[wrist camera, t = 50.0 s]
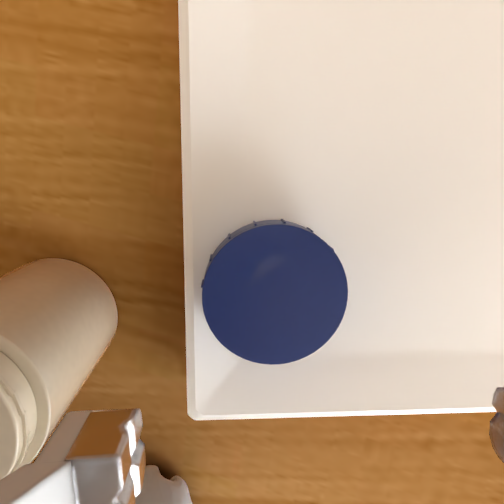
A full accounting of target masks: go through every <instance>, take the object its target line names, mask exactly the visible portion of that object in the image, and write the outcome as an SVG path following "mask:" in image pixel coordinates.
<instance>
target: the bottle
mask: <svg viewBox="0 0 504 504" xmlns="http://www.w3.org/2000/svg"><path fill="white" fill-rule="evenodd" d="M135 502H136V504H193V503H192V501H191V498H190V495H189V490H188V487H187V485H186V482H185V481H184V480H183V479H182V478H181V477H180V476H173V477H172V478H171V479H170V480H168V479H166V478H164V477H163V476H162V475H161V474H160V472H159V468H158V467H157V466H155V465H147V466H145V474H144V482H143V486H142V490H141V493H140V494H138V495H137V496H136V497H135Z"/></svg>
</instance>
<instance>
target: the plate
mask: <svg viewBox="0 0 504 504" xmlns="http://www.w3.org/2000/svg"><path fill="white" fill-rule="evenodd" d="M178 13H179V57H180V102H181V146H182V190H183V235H184V279H185V323H186V367H187V412H188V415H189V416H190V417H191V418H192V419H193V420H225V419H260V418H295V417H330V416H365V415H401V414H436V413H471V412H497V411H496V409H495V408H494V406H493V405H492V400H493V394H494V392H495V390H496V388H497V387H504V0H178ZM281 219H284V220H285V221H289V222H293V223H296V224H298V225H301V226H303V227H305V228H307V227H308V228H310V229H311V230H313V233H314V234H316V235H317V236H318V237H320V238H321V239H322V240H324V241H325V242H326V243H327V244H328V245H329V246H330V247H332V248H333V249H334V252H335V253H336V255H337V256H338V258H339V260H340V261H341V263H342V266H343V268H344V271H345V274H346V278H347V285H348V300H347V306H346V310H345V313H344V316H343V319H342V321H341V323H340V325H339V327H338V328H337V330H336V332H335V333H334V334H333V336H332V337H331V338H330V339H329V340H328V341H327V342H326V343H325V344H324V345H323V346H322V347H321V348H319V349H318V350H317V351H315V352H314V353H312V354H310V355H309V356H307V357H305V358H302V359H300V360H297V361H294V362H290V363H285V364H275V365H269V364H260V363H255V362H251V361H248V360H245V359H243V358H241V357H239V356H237V355H235V354H234V353H232V352H231V351H229V350H228V349H227V348H225V347H224V346H223V345H222V344H221V343H220V342H219V341H218V340H217V338H216V337H215V336H214V334H213V333H212V331H211V330H210V328H209V326H208V323H207V321H206V318H205V315H204V312H203V306H202V288H201V284H202V279H204V276H205V272H206V268H207V265H208V263H209V259H210V255H211V254H212V255H213V253H214V251H215V250H216V248H217V247H218V246H219V244H220V243H221V242H222V241H223V240H224V239H225V238H226V237H228V234H229V233H230V234H231V233H233V232H234V231H236V230H238V229H239V228H241V227H243V226H246V225H248V224H251V223H253V221H255V222H258V221H264V220H281Z"/></svg>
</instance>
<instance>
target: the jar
mask: <svg viewBox="0 0 504 504" xmlns="http://www.w3.org/2000/svg"><path fill="white" fill-rule="evenodd" d="M117 322H118V313H117V307H116V303H115V300H114V297H113V295H112V293H111V291H110V290H109V288H108V286H107V285H106V284H105V282H104V281H103V280H102V279H101V278H100V277H99V276H98V275H97V274H96V273H94V272H93V271H92V270H90V269H89V268H87V267H85V266H83V265H81V264H79V263H76V262H73V261H70V260H66V259H60V258H46V259H40V260H35V261H32V262H30V263H27V264H25V265H23V266H21V267H19V268H17V269H15V270H12V271H10V272H8V273H6V274H4V275H2V276H0V480H1V479H3V478H4V477H6V476H7V475H9V474H11V473H12V472H14V471H15V470H17V469H19V468H20V467H22V466H23V465H25V464H30V463H31V462H32V461H33V459H34V458H35V457H36V456H37V455H38V453H39V452H40V450H41V449H42V447H43V446H44V444H45V443H46V441H47V440H48V438H49V437H50V435H51V434H52V432H53V430H54V429H55V427H56V426H57V424H58V423H59V421H60V420H61V418H62V417H63V415H64V414H65V412H66V411H67V409H68V408H69V406H70V405H71V403H72V401H73V400H74V398H75V397H76V395H77V394H78V392H79V391H80V389H81V388H82V386H83V385H84V383H85V382H86V380H87V379H88V377H89V376H90V374H91V372H92V371H93V369H94V368H95V366H96V365H97V363H98V362H99V360H100V359H101V357H102V356H103V354H104V353H105V351H106V350H107V348H108V347H109V345H110V343H111V342H112V340H113V338H114V335H115V332H116V329H117Z"/></svg>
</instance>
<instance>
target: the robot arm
mask: <svg viewBox="0 0 504 504" xmlns="http://www.w3.org/2000/svg"><path fill="white" fill-rule="evenodd" d="M492 405H493V406H494V408H495V409H496V411H497V413H496V414H495V416H494V417H493V418H492V419H491V421H490V429H489V436H490V439H491V443H492V447H493V449H494V450H495V452H496V454H497V456H498V457H499V458H500V459H501V460H502V462H503V463H504V387H497V388H496V390H495V392H494V394H493V400H492ZM142 427H143V423H142V415H141V411H140V409H139V408H138V409H113V410H94V411H92V410H87V411H73V412H69V413H67V414H66V415H65V416H64V418H63V419H62V421H61V422H60V424H59V425H58V427H57V428H56V430H55V431H54V433H53V434H52V436H51V437H50V439H49V441H48V442H47V444H46V445H45V447H44V448H43V450H42V451H41V453H40V454H39V456H38V457H37V459H36V460H35V462H34V463H31V464H25V465H23V466H22V467H20V468H19V469H17V470H15V471H14V472H12V473H11V474H9V475H7V476H6V477H4V478H3V479H1V480H0V504H136V502H135V497H136V496H137V495H138V494H140V493H141V490H142V486H143V482H144V474H145V444H144V443H143V442H142V441H141V440H140V439H139V437H140V434H141V431H142Z"/></svg>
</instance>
